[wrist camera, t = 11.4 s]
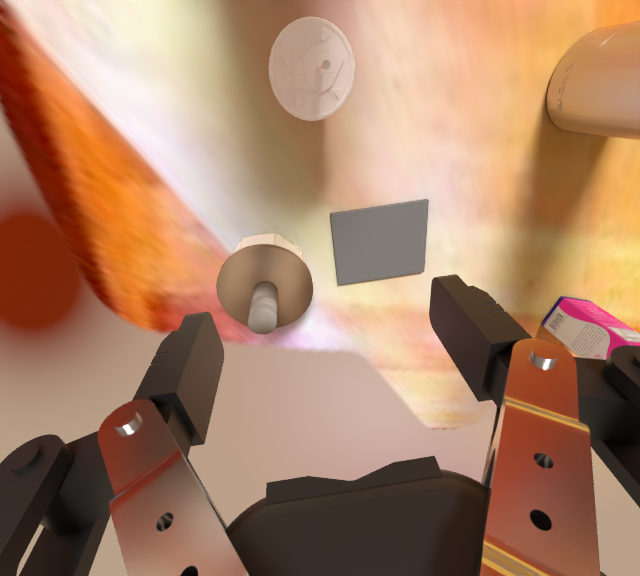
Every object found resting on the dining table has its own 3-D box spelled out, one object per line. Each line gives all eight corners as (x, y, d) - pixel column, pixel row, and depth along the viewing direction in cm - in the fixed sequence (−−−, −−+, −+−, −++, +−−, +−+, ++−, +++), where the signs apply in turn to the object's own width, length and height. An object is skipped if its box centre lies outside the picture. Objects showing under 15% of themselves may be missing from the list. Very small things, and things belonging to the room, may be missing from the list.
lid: (305, 237, 34) (309, 266, 29) (317, 316, 40) (323, 354, 34) (205, 252, 34) (188, 285, 28) (232, 329, 40) (223, 370, 34)
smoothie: (344, 102, 33) (378, 107, 21) (286, 124, 33) (286, 140, 21) (327, 25, 29) (355, -21, 17) (262, 51, 30) (246, 22, 18)
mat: (426, 199, 39) (428, 200, 38) (422, 269, 44) (424, 271, 43) (330, 213, 39) (330, 215, 38) (337, 282, 44) (338, 285, 43)
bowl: (297, 227, 39) (299, 244, 35) (308, 292, 44) (311, 313, 40) (220, 239, 39) (212, 256, 35) (240, 302, 44) (235, 324, 40)
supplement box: (569, 328, 53) (633, 381, 43) (539, 324, 52) (598, 377, 42) (591, 300, 50) (665, 350, 40) (561, 294, 49) (629, 344, 39)
